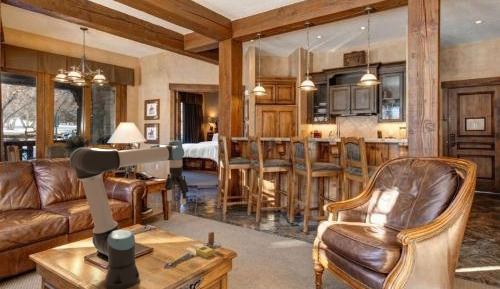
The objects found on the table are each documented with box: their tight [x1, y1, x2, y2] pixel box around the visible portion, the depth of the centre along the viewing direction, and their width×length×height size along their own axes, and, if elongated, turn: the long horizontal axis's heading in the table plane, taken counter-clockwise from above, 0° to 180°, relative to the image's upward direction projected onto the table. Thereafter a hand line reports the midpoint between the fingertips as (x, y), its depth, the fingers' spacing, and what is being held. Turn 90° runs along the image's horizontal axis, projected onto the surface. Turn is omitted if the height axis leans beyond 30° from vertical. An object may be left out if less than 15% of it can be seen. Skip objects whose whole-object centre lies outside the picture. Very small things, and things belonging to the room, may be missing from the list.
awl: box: [207, 231, 215, 250], centre depth 180 cm, size 3×3×10 cm
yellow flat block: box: [196, 245, 215, 259], centre depth 174 cm, size 6×8×3 cm
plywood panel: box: [180, 243, 220, 259], centre depth 179 cm, size 14×18×1 cm
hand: (176, 202), depth 182 cm, fingers open, 13 cm apart
